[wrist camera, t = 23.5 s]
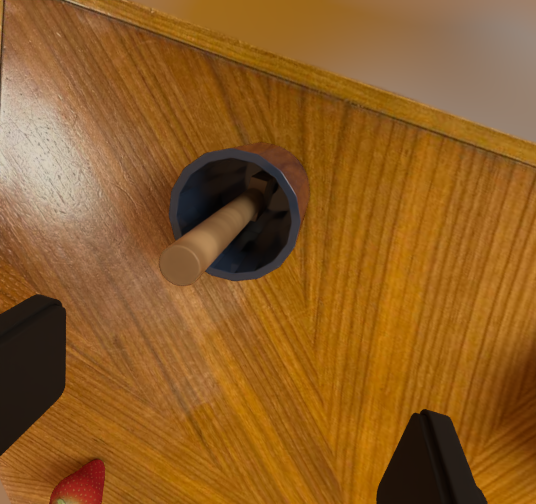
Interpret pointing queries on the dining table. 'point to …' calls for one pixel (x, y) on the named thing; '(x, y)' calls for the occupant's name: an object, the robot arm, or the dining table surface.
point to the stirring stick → (214, 234)
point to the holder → (231, 186)
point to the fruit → (81, 486)
